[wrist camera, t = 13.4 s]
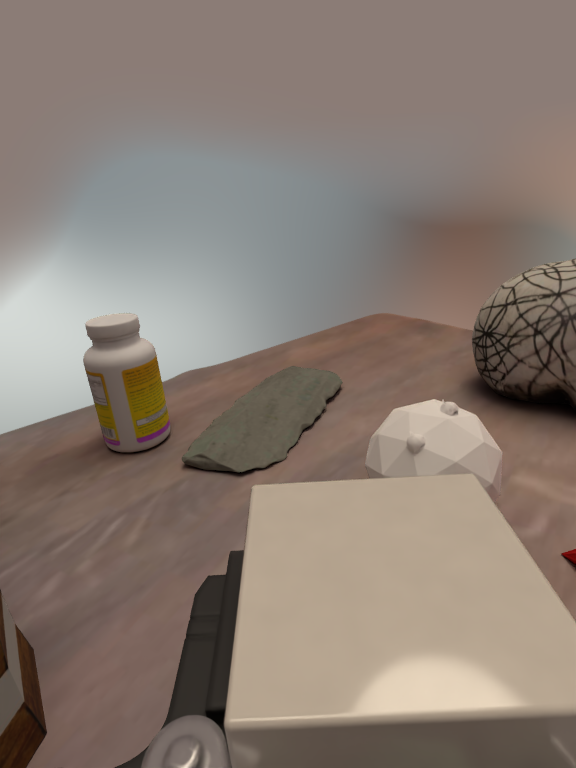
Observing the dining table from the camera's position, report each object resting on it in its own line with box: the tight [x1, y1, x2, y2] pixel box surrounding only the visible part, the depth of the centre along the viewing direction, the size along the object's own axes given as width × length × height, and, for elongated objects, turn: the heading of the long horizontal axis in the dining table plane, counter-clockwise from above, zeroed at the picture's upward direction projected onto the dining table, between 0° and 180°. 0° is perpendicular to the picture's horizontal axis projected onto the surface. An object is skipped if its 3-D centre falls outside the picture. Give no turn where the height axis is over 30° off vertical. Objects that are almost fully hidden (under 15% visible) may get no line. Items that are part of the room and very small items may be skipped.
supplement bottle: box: [83, 313, 170, 452], centre depth 44 cm, size 7×7×13 cm
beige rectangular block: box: [224, 473, 576, 768], centre depth 9 cm, size 5×5×10 cm
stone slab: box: [182, 366, 342, 472], centre depth 48 cm, size 22×3×10 cm
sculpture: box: [472, 259, 576, 410], centre depth 46 cm, size 15×20×15 cm
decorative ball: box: [365, 399, 503, 502], centre depth 31 cm, size 9×10×12 cm
